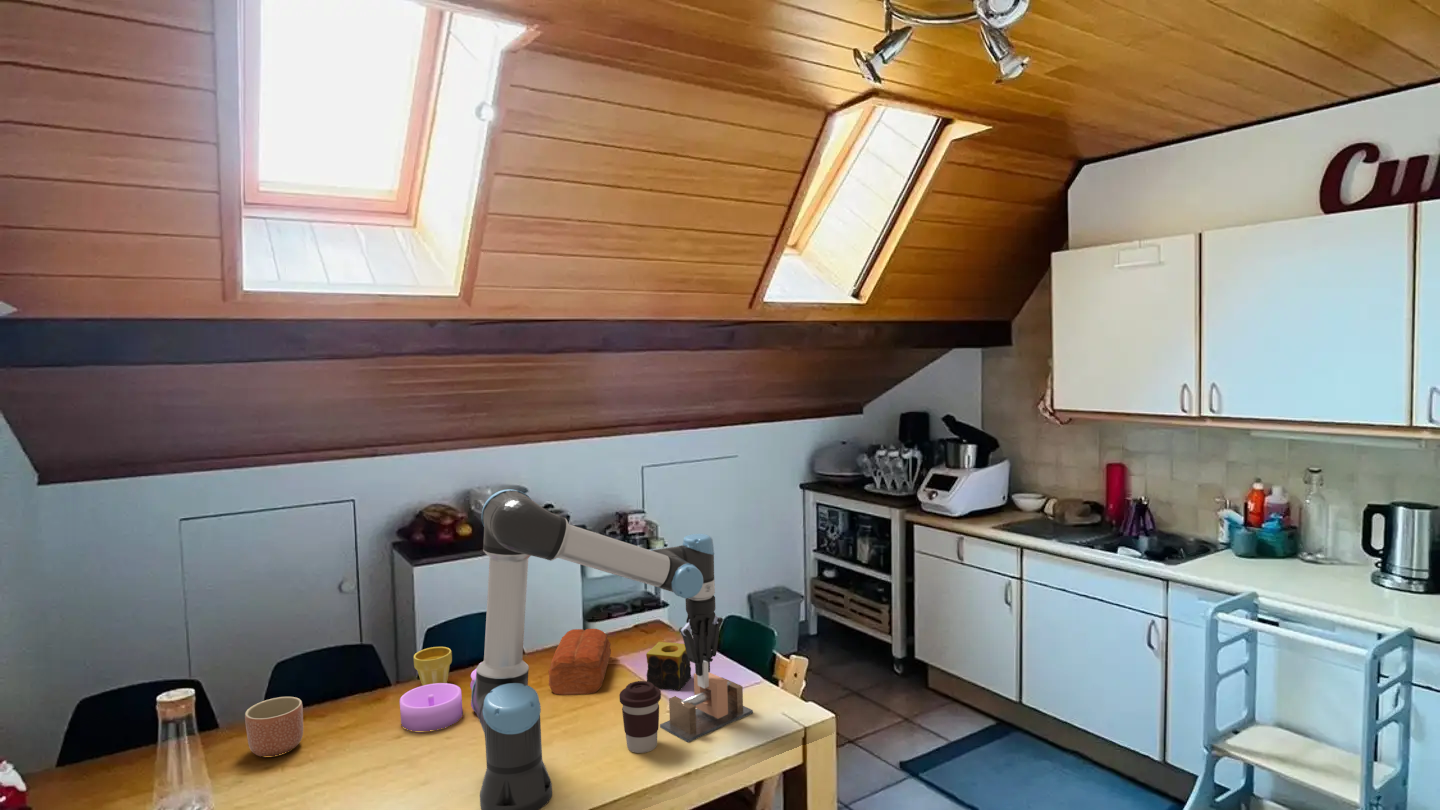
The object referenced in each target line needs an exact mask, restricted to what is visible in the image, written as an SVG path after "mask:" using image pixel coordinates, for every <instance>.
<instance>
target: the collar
mask: <svg viewBox="0 0 1440 810" xmlns="http://www.w3.org/2000/svg"><path fill="white" fill-rule="evenodd" d="M723 678H724V677H722V678H721V676H719V675H716V674H714V673H712V672H711V671H710V672H709V687H707V688H705V689H704V688H702V687H700V686H698V679H697V675H696V673H693V694H694V695H696V694H699V693H701V692H704V691H706V690H711V699H710V700H708V701H705V702H703V703H701V704H698V705H696V709H699V710H701V711H703V712H705V713H707V714H709V715H711V716H713V717H715V718H717V719H718V718H721V717H723V716H725V715H727V714H728V694H727V680H728V679H727V678H725V679H723ZM726 679H727V680H726ZM694 695H693V696H694Z"/></svg>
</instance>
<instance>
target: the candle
mask: <svg viewBox="0 0 1440 810" xmlns="http://www.w3.org/2000/svg"><path fill="white" fill-rule="evenodd" d="M645 656H646V663H647V670H646V671H647V672H646V681H647V682H651V683H652V684H653V685H654V686H655V687H657V688H659V689H660V690H665V691H668V690H669V691H675V692H676V691H677V692H679V691H681V690H682V689H683V688H684V686H685V685H686V684H687V683H688V682H689V680H690V679H691V678H692V674H691V673H692V667H691V662H690V661H689V660H688V657H687V653H686V648H685V644H684V643H681V642H680V643H679V642H665V641H658V642H657V643H656V644H655V645H654V646H653V647H652V648H650V649H649V651H647V652H646V655H645ZM686 682H687V683H686Z"/></svg>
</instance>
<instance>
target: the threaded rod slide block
mask: <svg viewBox="0 0 1440 810" xmlns="http://www.w3.org/2000/svg"><path fill="white" fill-rule="evenodd" d="M720 677H721V676H720ZM721 678H723V679H726V680H727V694H728V714H727V715H725V716H723V717H721V718H718V719H717V718H715V717H713V716H711V715H709V714H707V713H705V712H703V711H701V710H699V709H697V708H696V705H698V704H701V703H703V702H705V701H708V700H710V699H711V690H706V691H704V692H701V693H699V694H696V695H692V696H689V697H686V698H684V699H682V698H680V697H679V696H675V695H674V696H672V697H670V698H668V705H669V706H668V707H669V711H668V712H669V720H667V721H664V722H663V723H660V724H659V729H663V730H664V731H665V732H668V733H670V734H671V735H673V736H675V737H677V738H679V739H680V740H682V741H684V742H686V743H690V742H693V741H695V740H696V739H699V738H701V737H703V736H705V735H708V734H710V733H712V732H714V731H717V730H719V729H721V728H723V727H725V726H727V725H730V724H731V723H734V722H736V721H738V720H741V719H743V718H745V717H747V716H749V715H752V714H753V713H754V710H753V709H751V708H749V707H747V706H745V705H744V696H743V694H744V693H743V685H740V684H738V683H735V682H733V681H731V680H729V679H727V678H725V677H721Z"/></svg>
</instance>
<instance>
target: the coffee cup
mask: <svg viewBox="0 0 1440 810" xmlns="http://www.w3.org/2000/svg"><path fill="white" fill-rule="evenodd" d="M661 691H662V690H661V689H659V688H657V687H655V686H654V685H653V684H652V683H651V682H647V680H646V681H645V680H637V681H633V682H631V683H628V684H627V685H626V687H625V688H623V689H622V690H621V691H620V692H619V695H618V697H619V702H620V704H621V705H622V708H621V711H622V719H623V731H624V734H625V739H626V748H627V749H628V750H629V751H630V752H632V753H636V754H645V753H648V752H651V751H653V750H654V749H655V748H657V746H658V733H659V732H658V731H659V729H660V724H659V721H660V720H659V719H660V704H659V703H660V702H659V701H660V700H661V698H662V692H661Z"/></svg>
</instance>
